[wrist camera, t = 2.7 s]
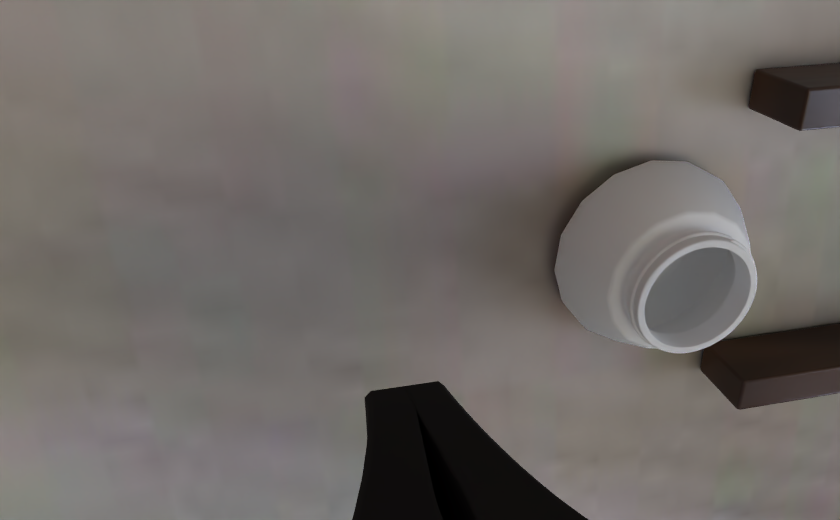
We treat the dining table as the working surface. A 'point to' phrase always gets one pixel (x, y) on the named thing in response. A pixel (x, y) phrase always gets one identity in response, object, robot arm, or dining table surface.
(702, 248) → the lidless jar
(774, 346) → the frame
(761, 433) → the dining table surface
